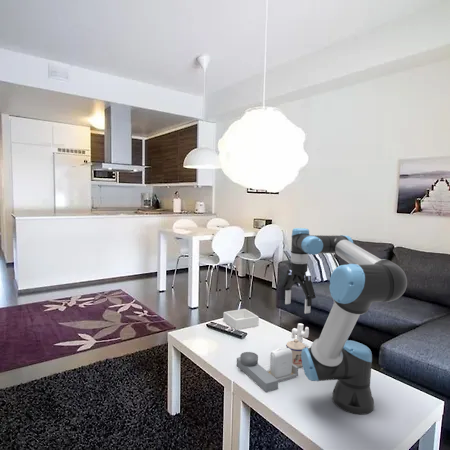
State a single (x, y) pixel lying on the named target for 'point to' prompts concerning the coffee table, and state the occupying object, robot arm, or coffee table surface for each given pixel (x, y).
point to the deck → (261, 372)
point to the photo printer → (281, 362)
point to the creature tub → (240, 319)
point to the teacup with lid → (296, 351)
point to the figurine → (300, 333)
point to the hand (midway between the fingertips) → (297, 308)
